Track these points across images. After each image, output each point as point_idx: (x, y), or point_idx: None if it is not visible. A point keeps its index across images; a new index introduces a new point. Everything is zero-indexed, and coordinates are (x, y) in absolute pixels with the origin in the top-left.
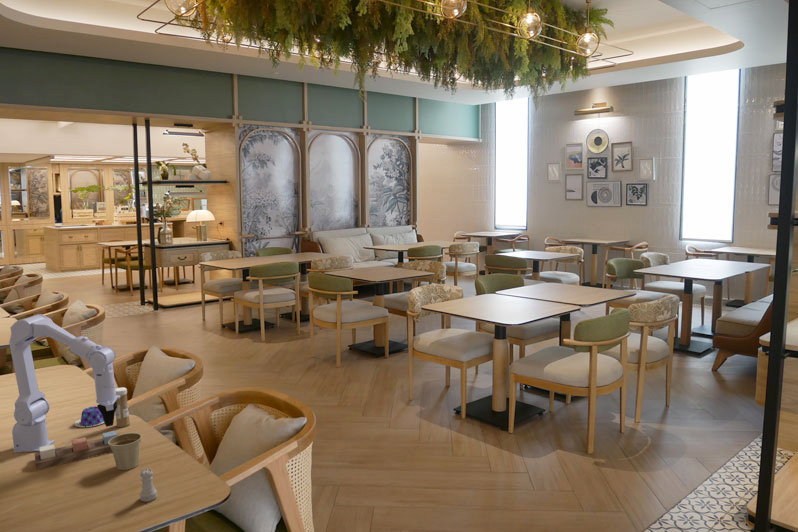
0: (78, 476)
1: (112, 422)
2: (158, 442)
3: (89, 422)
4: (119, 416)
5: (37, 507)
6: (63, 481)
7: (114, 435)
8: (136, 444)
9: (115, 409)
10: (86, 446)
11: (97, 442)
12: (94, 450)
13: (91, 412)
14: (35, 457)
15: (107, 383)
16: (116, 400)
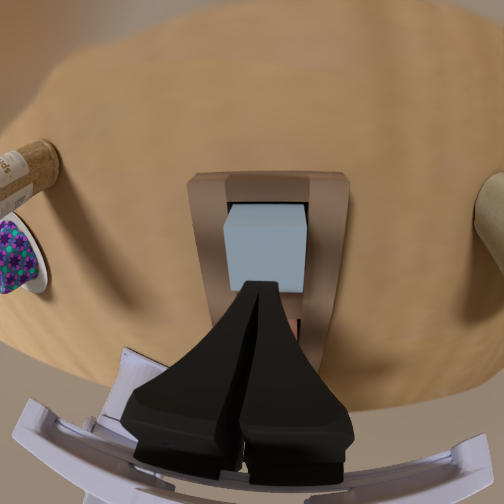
0: (439, 328)
1: (280, 299)
2: (358, 17)
3: (29, 267)
4: (25, 191)
5: (478, 369)
6: (432, 351)
7: (305, 242)
8: None
9: (329, 393)
10: (296, 331)
11: None
12: (333, 303)
13: (5, 276)
14: None
15: None
16: None
